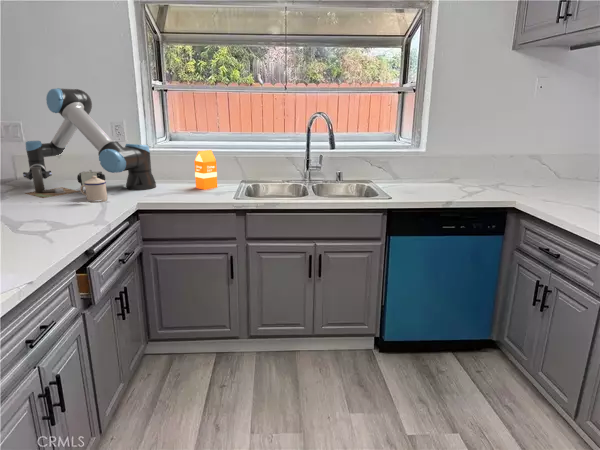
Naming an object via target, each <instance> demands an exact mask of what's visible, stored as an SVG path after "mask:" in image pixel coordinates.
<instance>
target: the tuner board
mask: <svg viewBox="0 0 600 450" xmlns="http://www.w3.org/2000/svg"><path fill="white" fill-rule="evenodd" d="M57 188H58V187H56V188H55V187H54V188H53V189H57ZM59 188H63V190H64V192H62V193H55V192H40V193H36V192H35V191H29V192H24V194H26V195H30V196H33V197H36V198H41V199H46V198H52V197H57V196H64V195H69V194H70V195H71V194H76V193H81V190H75V189H71V188H67V187H59Z"/></svg>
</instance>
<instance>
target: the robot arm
mask: <svg viewBox="0 0 600 450" xmlns="http://www.w3.org/2000/svg"><path fill="white" fill-rule="evenodd" d="M45 100H46V106H47V108H48V110H49V111H50V112H51V113H53V114H54V113H55V114H59V115H60V116H61V117H62V118H63V121H62V123H61V125H59V128H58V130H57V131H56V133H54V136H53V137H52V140H51V141H50V142H48V143H45V142H44V143H42V141H41V140H27V141H25V150H26V154H27V159H28V160H27V161H28V168H29V170H28V172H25V171H23V172H22V175H23V178H26V179H28V180H33V176H32V170H31V167H41V171H42V177H43V180H46V179H47V178H49V177H51V176H53V173H52V171H51V170H47V168H46V163H45V158H49V157H57V156H56V155H59V154H61V153H62V152H63V150H64V149H65V147H66V145H67V146H68V144H69V142H71V139H72V137H73V136H74V135H75V133H76V131H77V130H78V131H79V132H80V133H81V134H82V135H83V136H84V137H85V138H86V140H88V141H89V142H90V144H91V145H92V146H93V147H94V148H95V149H96V150H97V151H98V152H97V153H98V161H99V164H100V166H101V167H102V168H103V170H104V171H106V172H108V173H114V174H115V173H116V174H117V173H122V172H127V178H126V182H125V186H126V189H127V190H131V191H141V190H150V189H155V188H156V187H157V182H156V181H155V177H154V175H153V173H152V163H151V151H150V147H149V145H147V144H137V143H136V144H135V143H126V144H125V146H122V144H121V143H120V142H119V141H117V140H113V139H112V138H111V137H110V136H109V135H108V134H107V133H106V132H105V131H104V130H103V128H102V127H100V125H99V124H97V122H96V121H95V120H94V119H93V118H92V117H91V116H90V114H91V111H92V107H93V103H92V98H91V97H90V95H89V94H88V93H87V92H85V90H82V89H78V88H76V89H75V88H59V87H57V88H51V89H50V90H48V92H47V94H46V98H45Z"/></svg>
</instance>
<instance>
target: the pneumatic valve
mask: <svg viewBox="0 0 600 450" xmlns="http://www.w3.org/2000/svg"><path fill="white" fill-rule="evenodd" d="M92 176H97V178H100V179H102V180H105V181H106V175H105V174H103V172H102V171H92V169H89V171H82V172H79V173H78V174H77V177H76V178H77V179H76V180H77V181H78V183H79V184H80V187H81V186H82V185H85V184H84V182H85V181H88V180H89V179H91V178H92Z"/></svg>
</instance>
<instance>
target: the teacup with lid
mask: <svg viewBox="0 0 600 450" xmlns="http://www.w3.org/2000/svg"><path fill="white" fill-rule="evenodd" d="M106 183H107V182H106V179H105V180H102V179H100V178H97V176H92V178H91V179H89V180H88V181H85V182H84V184H85V185H82V186H81V185H80V190H79V191H80V193H81V194H82V195H83V196H86V200H87V203H91V204H92V203H96V204H97V203H103V202H107V201H108V193H107V184H106ZM84 188H85V191H84Z"/></svg>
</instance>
